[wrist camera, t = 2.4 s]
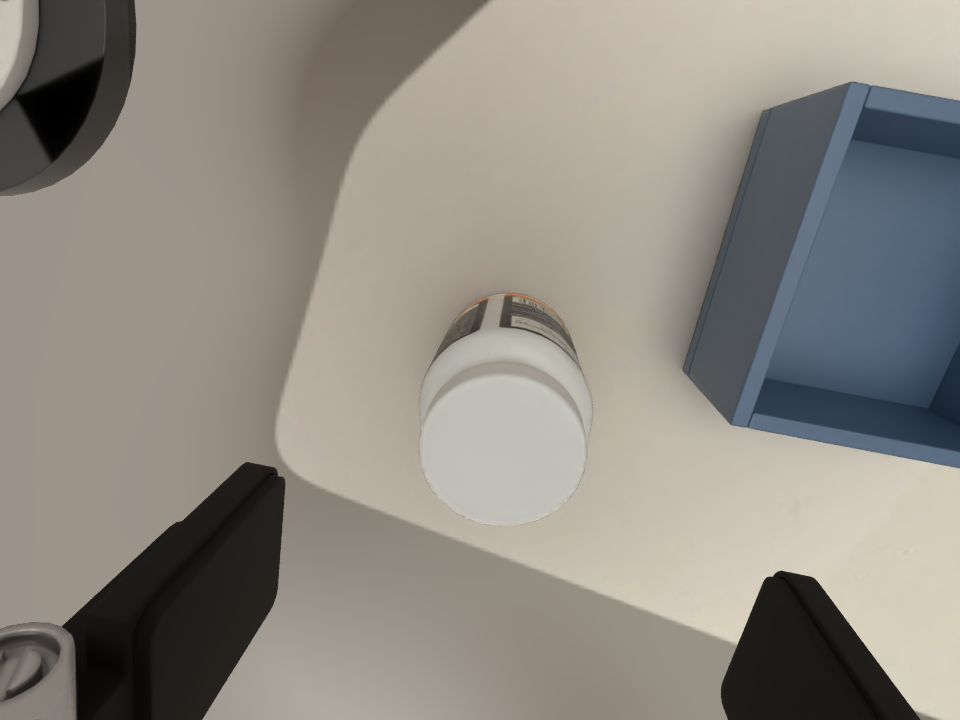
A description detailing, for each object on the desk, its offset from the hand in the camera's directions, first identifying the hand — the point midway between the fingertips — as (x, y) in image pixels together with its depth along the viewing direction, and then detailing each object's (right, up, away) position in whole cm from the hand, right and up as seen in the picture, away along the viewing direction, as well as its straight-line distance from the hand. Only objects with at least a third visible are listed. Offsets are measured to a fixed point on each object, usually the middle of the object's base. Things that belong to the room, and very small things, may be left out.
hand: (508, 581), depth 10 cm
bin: (+15, +8, +12) cm, 20 cm away
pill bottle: (+1, +5, +14) cm, 15 cm away
